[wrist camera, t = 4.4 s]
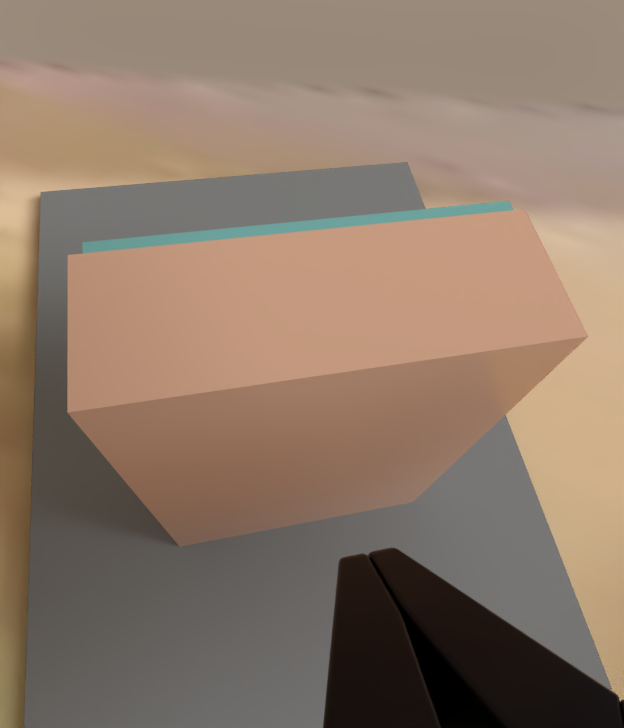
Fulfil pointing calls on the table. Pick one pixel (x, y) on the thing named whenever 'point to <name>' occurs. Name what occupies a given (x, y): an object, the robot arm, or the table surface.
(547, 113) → the table surface
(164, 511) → the salmon rectangular block
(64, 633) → the mat
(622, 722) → the robot arm
